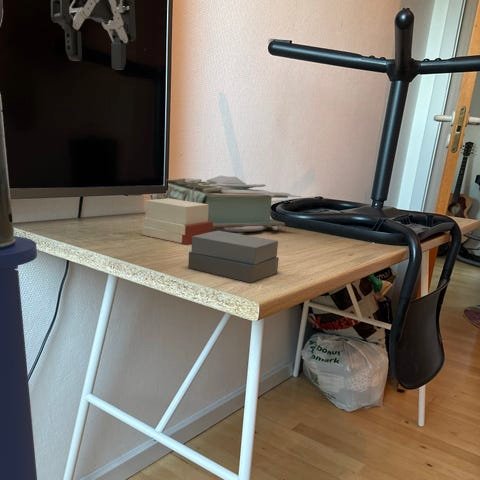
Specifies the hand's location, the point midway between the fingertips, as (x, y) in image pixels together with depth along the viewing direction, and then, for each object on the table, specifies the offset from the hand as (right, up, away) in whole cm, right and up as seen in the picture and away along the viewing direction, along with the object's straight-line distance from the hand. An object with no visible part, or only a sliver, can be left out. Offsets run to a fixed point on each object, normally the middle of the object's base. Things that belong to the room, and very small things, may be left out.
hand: (97, 65), depth 75 cm
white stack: (+11, -25, +10) cm, 29 cm away
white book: (+11, -22, +9) cm, 26 cm away
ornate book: (+18, -19, +29) cm, 39 cm away
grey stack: (+21, -33, -9) cm, 40 cm away
